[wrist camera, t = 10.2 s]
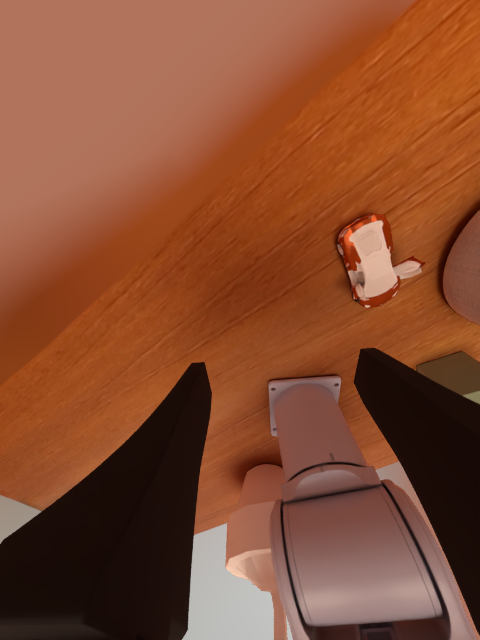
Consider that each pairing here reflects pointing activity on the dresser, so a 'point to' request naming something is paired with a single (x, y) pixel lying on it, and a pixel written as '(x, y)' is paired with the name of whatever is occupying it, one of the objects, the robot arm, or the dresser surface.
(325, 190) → the dresser surface
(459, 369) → the sage block
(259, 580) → the potted plant
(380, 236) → the toy car
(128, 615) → the robot arm
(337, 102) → the dresser surface
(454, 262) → the planter
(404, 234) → the dresser surface
